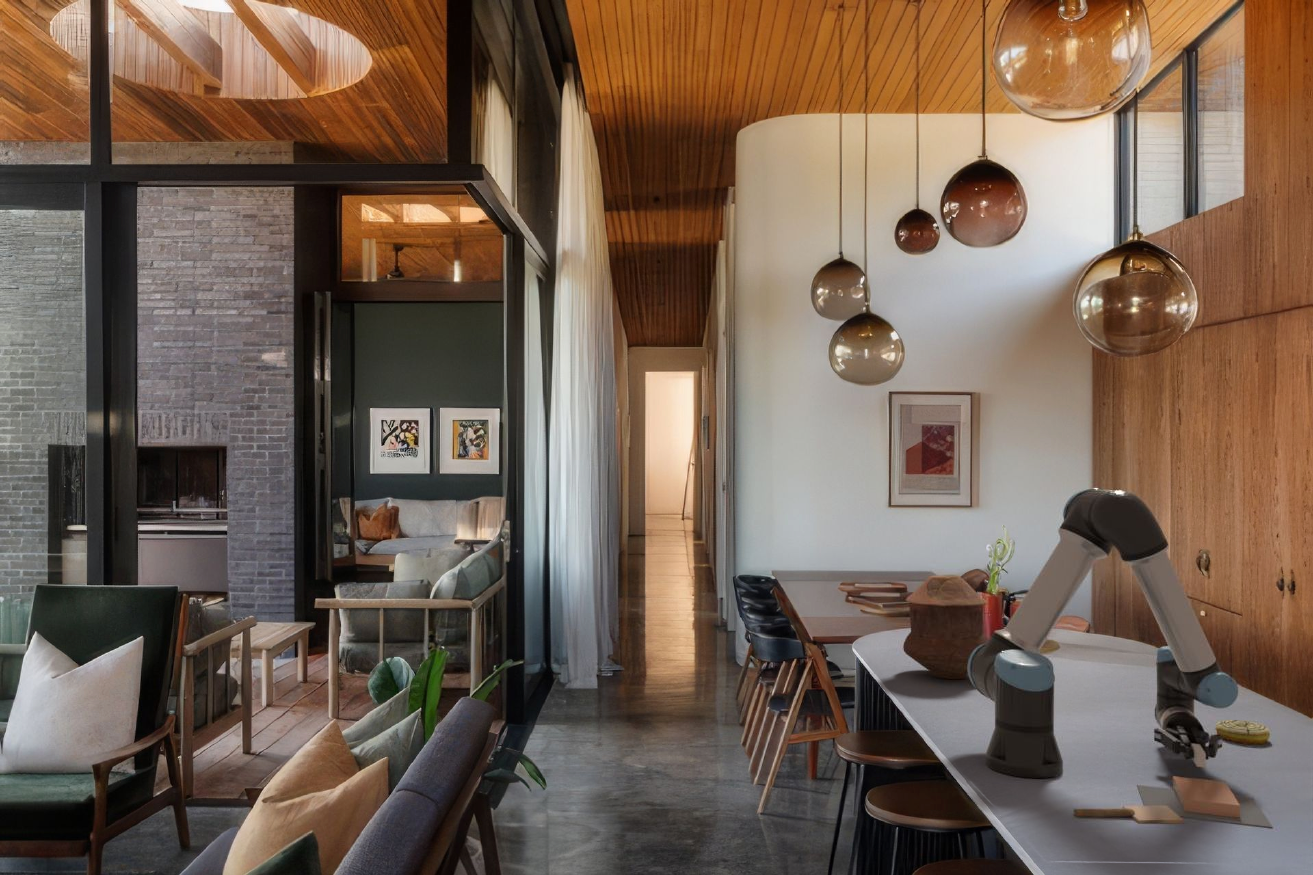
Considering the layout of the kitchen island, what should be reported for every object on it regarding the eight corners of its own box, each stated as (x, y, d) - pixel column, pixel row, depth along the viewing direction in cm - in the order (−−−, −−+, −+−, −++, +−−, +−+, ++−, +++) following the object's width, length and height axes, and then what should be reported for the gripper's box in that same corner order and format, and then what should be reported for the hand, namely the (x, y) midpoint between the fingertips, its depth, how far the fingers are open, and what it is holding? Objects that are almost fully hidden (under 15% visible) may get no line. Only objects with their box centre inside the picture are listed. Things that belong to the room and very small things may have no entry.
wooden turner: (1082, 824, 177) (1082, 816, 177) (1068, 809, 183) (1068, 802, 183) (1183, 822, 177) (1183, 815, 176) (1166, 808, 183) (1166, 801, 182)
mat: (1146, 813, 181) (1146, 811, 181) (1137, 786, 196) (1137, 784, 196) (1272, 829, 174) (1272, 826, 174) (1252, 799, 189) (1252, 797, 189)
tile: (1173, 787, 195) (1184, 811, 182) (1173, 775, 195) (1184, 798, 182) (1225, 793, 192) (1240, 817, 179) (1225, 781, 192) (1240, 805, 179)
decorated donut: (1234, 731, 238) (1234, 715, 238) (1279, 742, 229) (1279, 726, 229) (1206, 736, 234) (1206, 720, 234) (1251, 748, 224) (1251, 731, 224)
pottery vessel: (1000, 688, 280) (1000, 581, 280) (907, 684, 284) (907, 579, 284) (984, 668, 305) (985, 571, 306) (899, 665, 309) (900, 569, 310)
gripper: (1216, 749, 211) (1239, 783, 189) (1148, 742, 216) (1163, 775, 193) (1216, 714, 211) (1239, 743, 189) (1148, 708, 216) (1163, 736, 194)
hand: (1201, 759), depth 191 cm, fingers closed
